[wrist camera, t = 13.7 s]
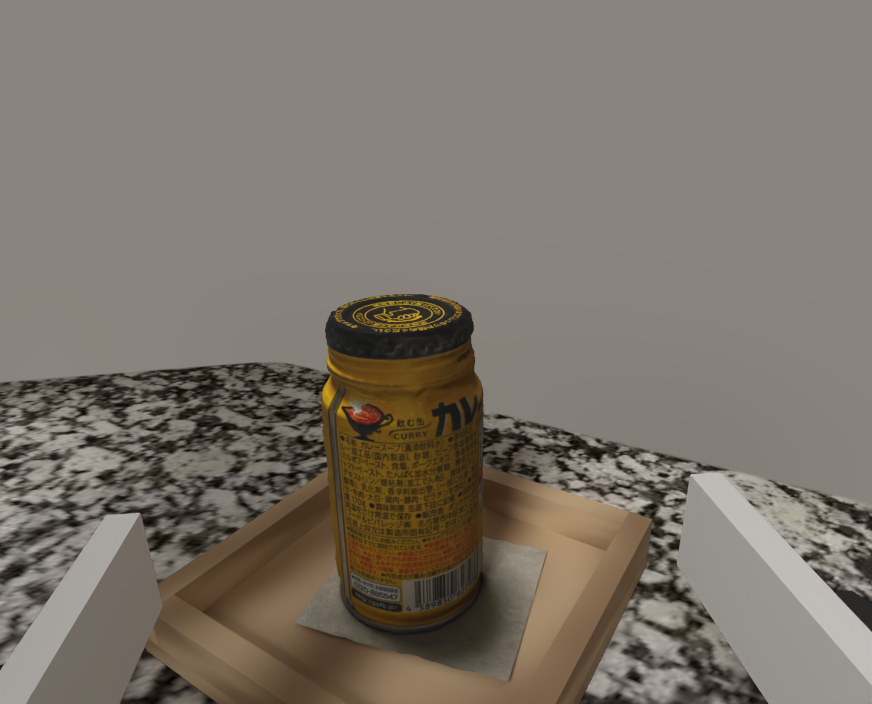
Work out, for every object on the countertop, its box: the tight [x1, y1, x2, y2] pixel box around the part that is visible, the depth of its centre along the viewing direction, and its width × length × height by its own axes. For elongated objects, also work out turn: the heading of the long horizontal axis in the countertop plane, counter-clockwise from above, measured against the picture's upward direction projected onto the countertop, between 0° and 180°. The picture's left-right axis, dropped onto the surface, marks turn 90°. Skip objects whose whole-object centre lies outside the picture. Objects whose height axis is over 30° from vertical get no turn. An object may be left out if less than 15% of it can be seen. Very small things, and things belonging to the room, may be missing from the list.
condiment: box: [294, 294, 547, 682], centre depth 23 cm, size 7×8×12 cm
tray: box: [145, 465, 652, 704], centre depth 25 cm, size 15×15×2 cm
